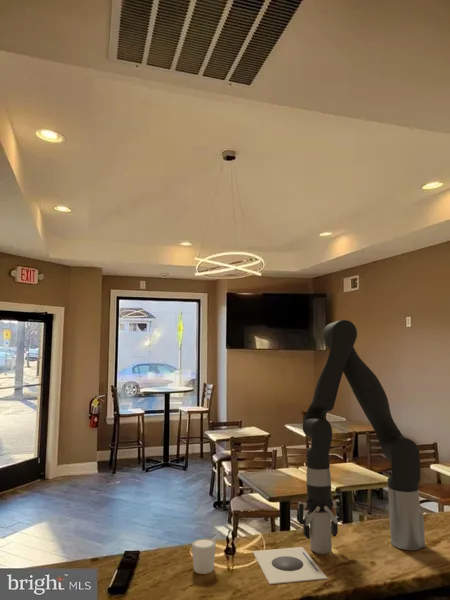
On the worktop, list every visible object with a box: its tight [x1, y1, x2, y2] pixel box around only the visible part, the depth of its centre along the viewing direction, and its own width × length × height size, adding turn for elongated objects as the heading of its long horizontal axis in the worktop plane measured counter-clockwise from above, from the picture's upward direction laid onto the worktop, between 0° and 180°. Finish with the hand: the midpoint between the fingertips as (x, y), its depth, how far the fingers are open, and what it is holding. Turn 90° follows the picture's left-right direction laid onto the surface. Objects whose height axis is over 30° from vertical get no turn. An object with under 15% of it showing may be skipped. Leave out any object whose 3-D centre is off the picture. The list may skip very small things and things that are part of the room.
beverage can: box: [309, 511, 333, 555], centre depth 138 cm, size 6×6×12 cm
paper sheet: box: [252, 546, 328, 585], centre depth 129 cm, size 16×20×1 cm
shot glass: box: [191, 538, 217, 575], centre depth 127 cm, size 7×7×7 cm
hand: (320, 536), depth 138 cm, fingers open, 8 cm apart
